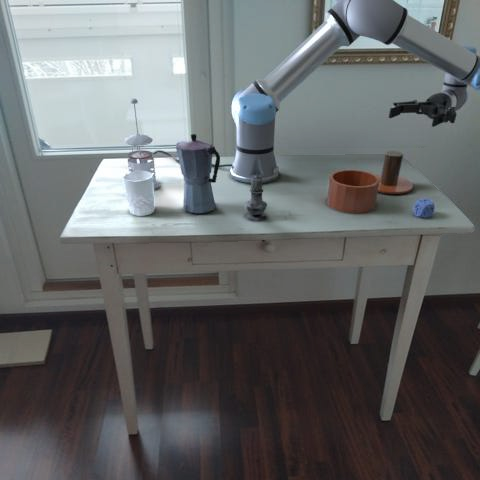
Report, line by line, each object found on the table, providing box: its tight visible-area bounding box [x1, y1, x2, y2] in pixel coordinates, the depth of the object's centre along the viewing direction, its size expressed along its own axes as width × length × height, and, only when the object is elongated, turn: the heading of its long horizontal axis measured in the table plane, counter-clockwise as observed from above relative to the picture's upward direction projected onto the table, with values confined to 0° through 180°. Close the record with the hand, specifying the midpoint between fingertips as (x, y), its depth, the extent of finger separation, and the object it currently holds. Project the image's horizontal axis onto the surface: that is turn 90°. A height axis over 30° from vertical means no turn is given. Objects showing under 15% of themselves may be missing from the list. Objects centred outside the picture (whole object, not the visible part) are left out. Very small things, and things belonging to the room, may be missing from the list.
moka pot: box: [175, 133, 221, 214], centre depth 129 cm, size 10×15×20 cm, turn 54°
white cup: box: [122, 171, 156, 217], centre depth 131 cm, size 8×8×10 cm
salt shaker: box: [245, 174, 268, 222], centre depth 128 cm, size 6×6×12 cm
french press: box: [124, 98, 161, 191], centre depth 142 cm, size 10×12×25 cm
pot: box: [326, 169, 380, 214], centre depth 136 cm, size 14×14×8 cm
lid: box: [375, 150, 414, 195], centre depth 146 cm, size 15×15×10 cm
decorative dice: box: [412, 198, 436, 219], centre depth 131 cm, size 4×4×4 cm
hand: (411, 117), depth 143 cm, fingers open, 13 cm apart
